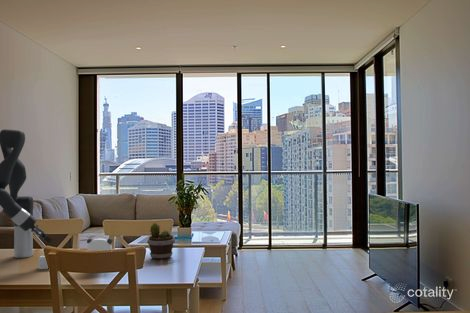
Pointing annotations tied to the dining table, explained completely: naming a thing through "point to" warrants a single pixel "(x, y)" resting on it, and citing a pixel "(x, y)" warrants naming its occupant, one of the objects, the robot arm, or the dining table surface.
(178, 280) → the dining table surface
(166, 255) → the flowerpot
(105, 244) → the panda figurine
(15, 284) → the dining table surface
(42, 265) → the syrup box
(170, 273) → the dining table surface
